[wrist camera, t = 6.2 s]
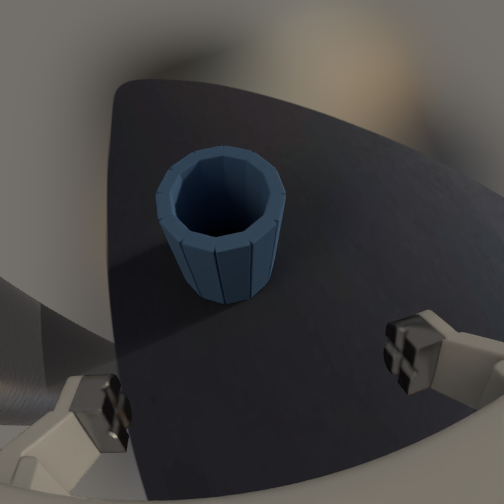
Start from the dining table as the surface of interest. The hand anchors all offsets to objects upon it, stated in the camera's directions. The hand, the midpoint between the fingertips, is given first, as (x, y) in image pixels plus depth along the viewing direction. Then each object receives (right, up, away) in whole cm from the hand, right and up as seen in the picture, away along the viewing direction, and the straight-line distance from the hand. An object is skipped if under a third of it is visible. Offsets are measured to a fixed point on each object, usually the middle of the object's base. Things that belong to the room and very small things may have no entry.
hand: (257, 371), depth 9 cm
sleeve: (-2, +3, +14) cm, 15 cm away
